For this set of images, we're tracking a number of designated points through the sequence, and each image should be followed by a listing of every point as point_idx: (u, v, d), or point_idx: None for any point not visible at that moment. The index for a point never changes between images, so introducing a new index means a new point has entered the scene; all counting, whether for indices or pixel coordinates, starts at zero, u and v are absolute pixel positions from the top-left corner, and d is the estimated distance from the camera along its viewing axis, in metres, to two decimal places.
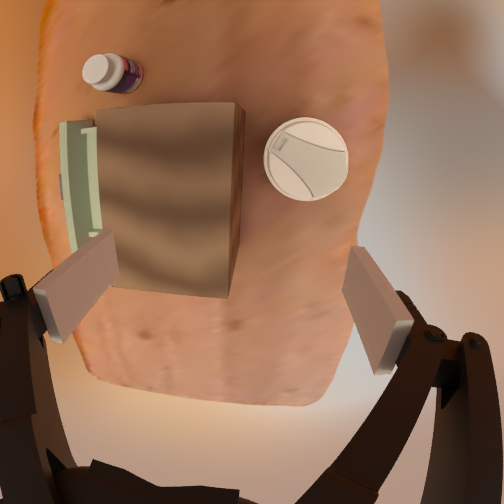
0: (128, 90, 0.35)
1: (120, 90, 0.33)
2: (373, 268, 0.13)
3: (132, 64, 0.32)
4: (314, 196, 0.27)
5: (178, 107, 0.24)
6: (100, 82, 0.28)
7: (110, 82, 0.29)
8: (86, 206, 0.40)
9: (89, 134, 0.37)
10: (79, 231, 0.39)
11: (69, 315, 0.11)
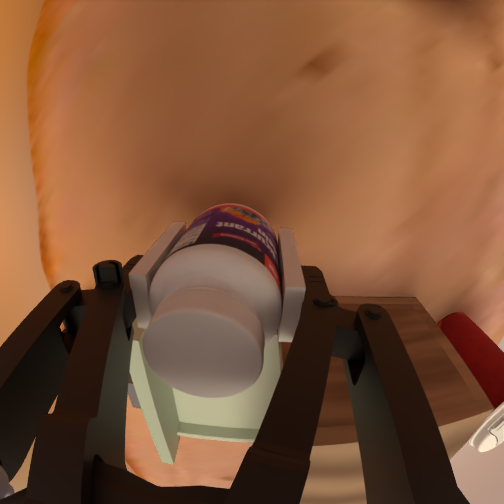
0: None
1: None
2: (289, 245, 0.14)
3: (275, 254, 0.14)
4: (496, 444, 0.15)
5: None
6: None
7: None
8: (172, 410, 0.28)
9: None
10: (171, 444, 0.26)
11: None
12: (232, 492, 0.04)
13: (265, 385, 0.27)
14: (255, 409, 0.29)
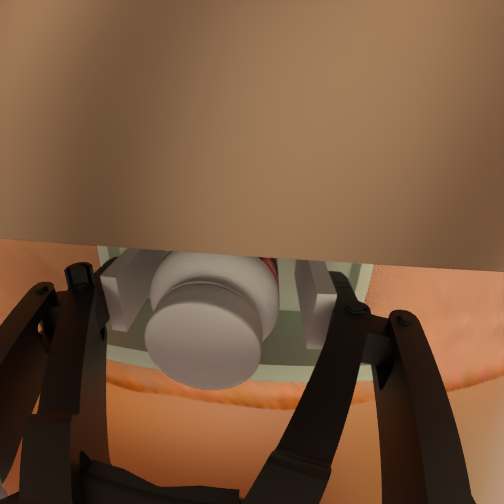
0: None
1: None
2: None
3: None
4: None
5: None
6: None
7: None
8: (284, 321, 0.19)
9: None
10: None
11: (132, 303, 0.12)
12: (250, 495, 0.04)
13: None
14: None
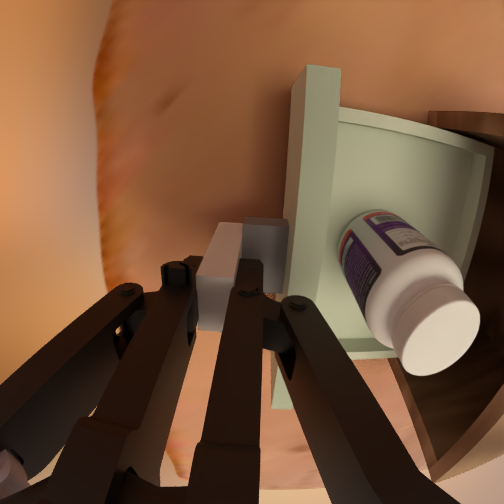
0: (344, 275, 0.17)
1: (351, 288, 0.15)
2: (235, 239, 0.15)
3: None
4: None
5: None
6: (396, 346, 0.11)
7: (382, 334, 0.12)
8: None
9: None
10: None
11: None
12: (191, 490, 0.04)
13: None
14: None
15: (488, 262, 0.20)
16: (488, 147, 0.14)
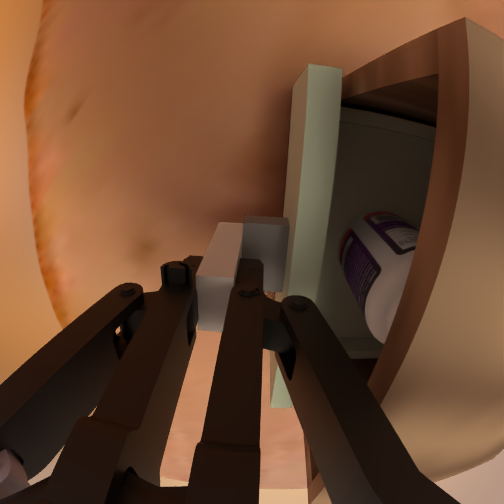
0: (344, 274, 0.17)
1: (352, 287, 0.15)
2: (235, 239, 0.15)
3: None
4: None
5: None
6: None
7: (381, 333, 0.12)
8: None
9: None
10: None
11: None
12: (191, 490, 0.04)
13: None
14: None
15: None
16: None
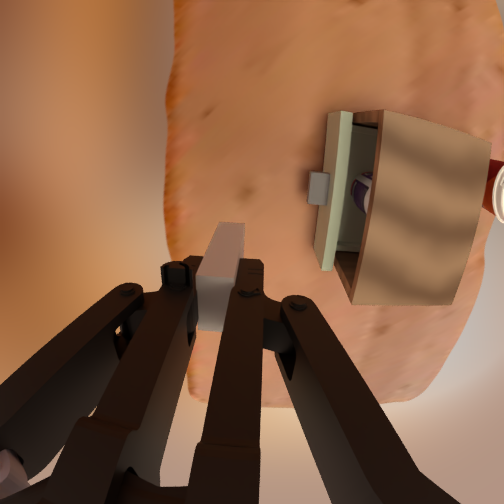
0: (353, 199, 0.36)
1: (357, 201, 0.34)
2: (235, 239, 0.15)
3: None
4: None
5: (458, 135, 0.22)
6: None
7: None
8: None
9: None
10: None
11: None
12: (191, 489, 0.04)
13: None
14: None
15: None
16: None
